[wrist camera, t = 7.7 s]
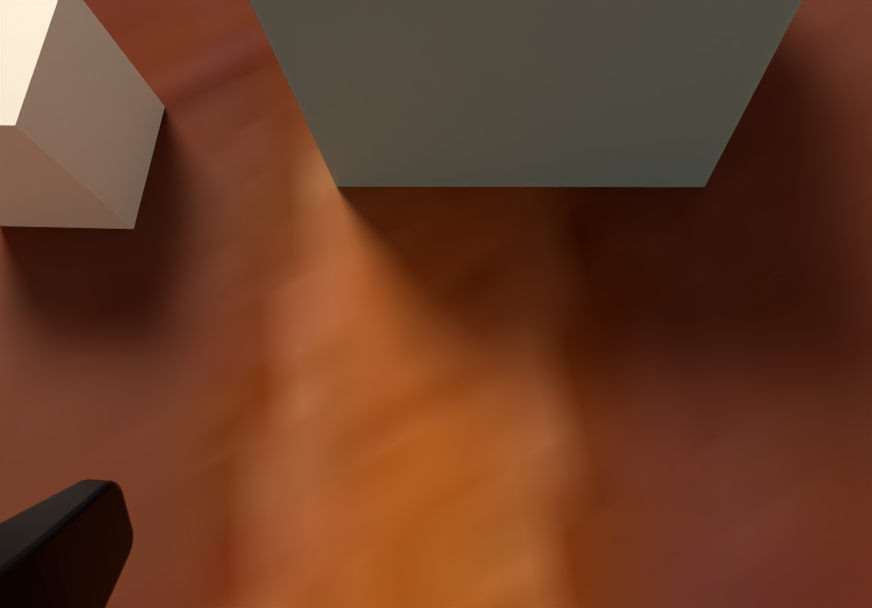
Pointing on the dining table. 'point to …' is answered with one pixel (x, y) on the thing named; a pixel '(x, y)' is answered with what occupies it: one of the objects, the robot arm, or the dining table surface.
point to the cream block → (70, 120)
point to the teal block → (523, 87)
